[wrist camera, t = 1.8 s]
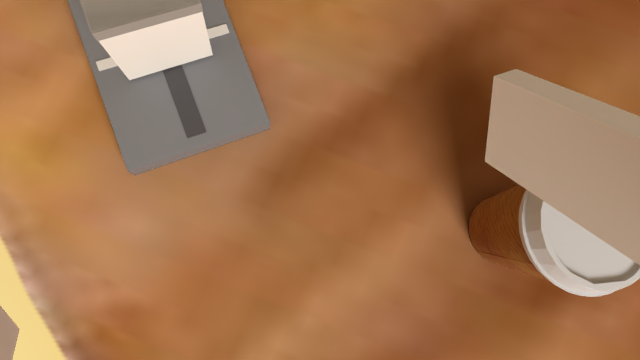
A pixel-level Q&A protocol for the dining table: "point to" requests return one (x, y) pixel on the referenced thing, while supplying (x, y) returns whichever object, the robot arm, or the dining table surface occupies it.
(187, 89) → the slider board
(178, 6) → the fader tab
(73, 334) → the dining table surface
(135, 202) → the dining table surface
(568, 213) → the robot arm
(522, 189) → the disposable coffee cup
